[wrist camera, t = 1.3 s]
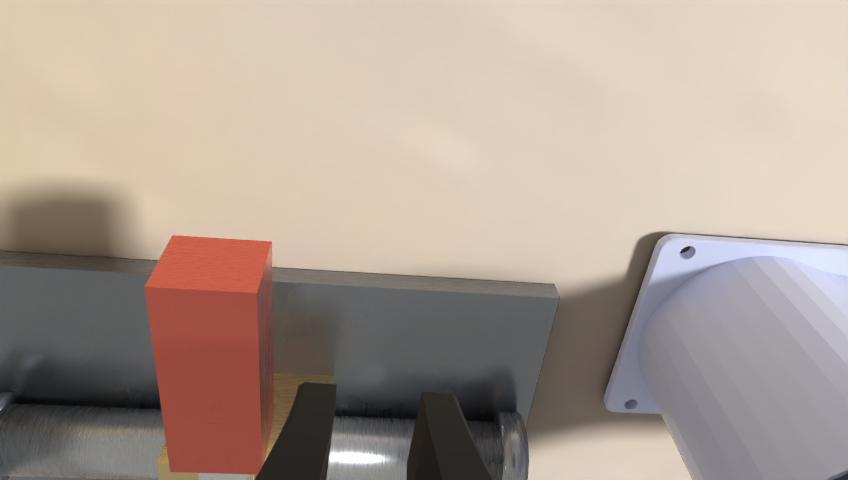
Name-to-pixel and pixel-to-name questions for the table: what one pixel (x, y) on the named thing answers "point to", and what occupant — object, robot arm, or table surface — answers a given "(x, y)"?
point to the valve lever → (214, 354)
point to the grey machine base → (293, 365)
